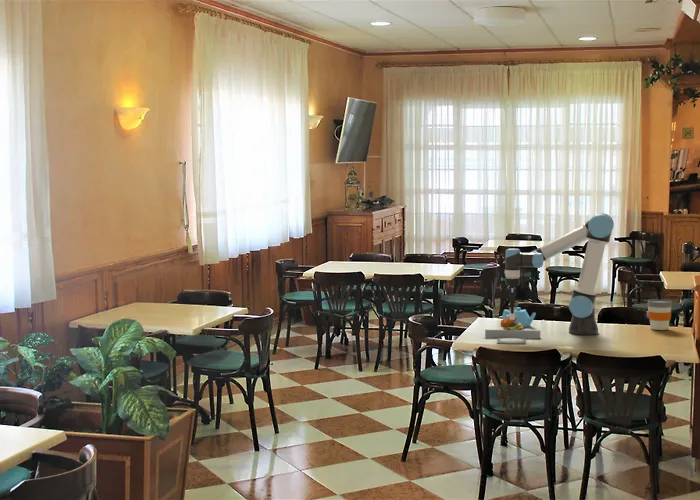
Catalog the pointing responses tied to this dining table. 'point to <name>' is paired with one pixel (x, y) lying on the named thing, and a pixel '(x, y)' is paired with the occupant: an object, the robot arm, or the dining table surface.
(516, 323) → the cheeseburger
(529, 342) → the dining table surface
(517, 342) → the mat
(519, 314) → the teapot
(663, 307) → the reusable coffee cup
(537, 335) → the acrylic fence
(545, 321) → the dining table surface
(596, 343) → the dining table surface
